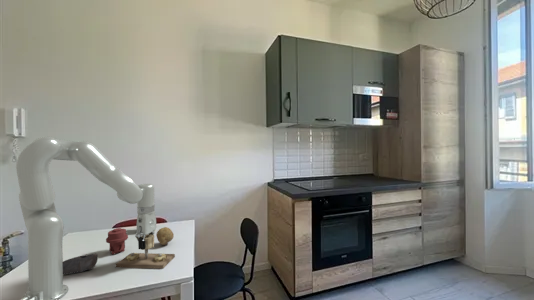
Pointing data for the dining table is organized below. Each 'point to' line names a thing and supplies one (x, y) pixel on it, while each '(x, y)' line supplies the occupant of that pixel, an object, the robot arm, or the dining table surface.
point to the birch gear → (149, 241)
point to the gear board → (145, 260)
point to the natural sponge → (164, 235)
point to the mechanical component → (117, 240)
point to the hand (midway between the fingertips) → (146, 245)
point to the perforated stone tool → (79, 263)
